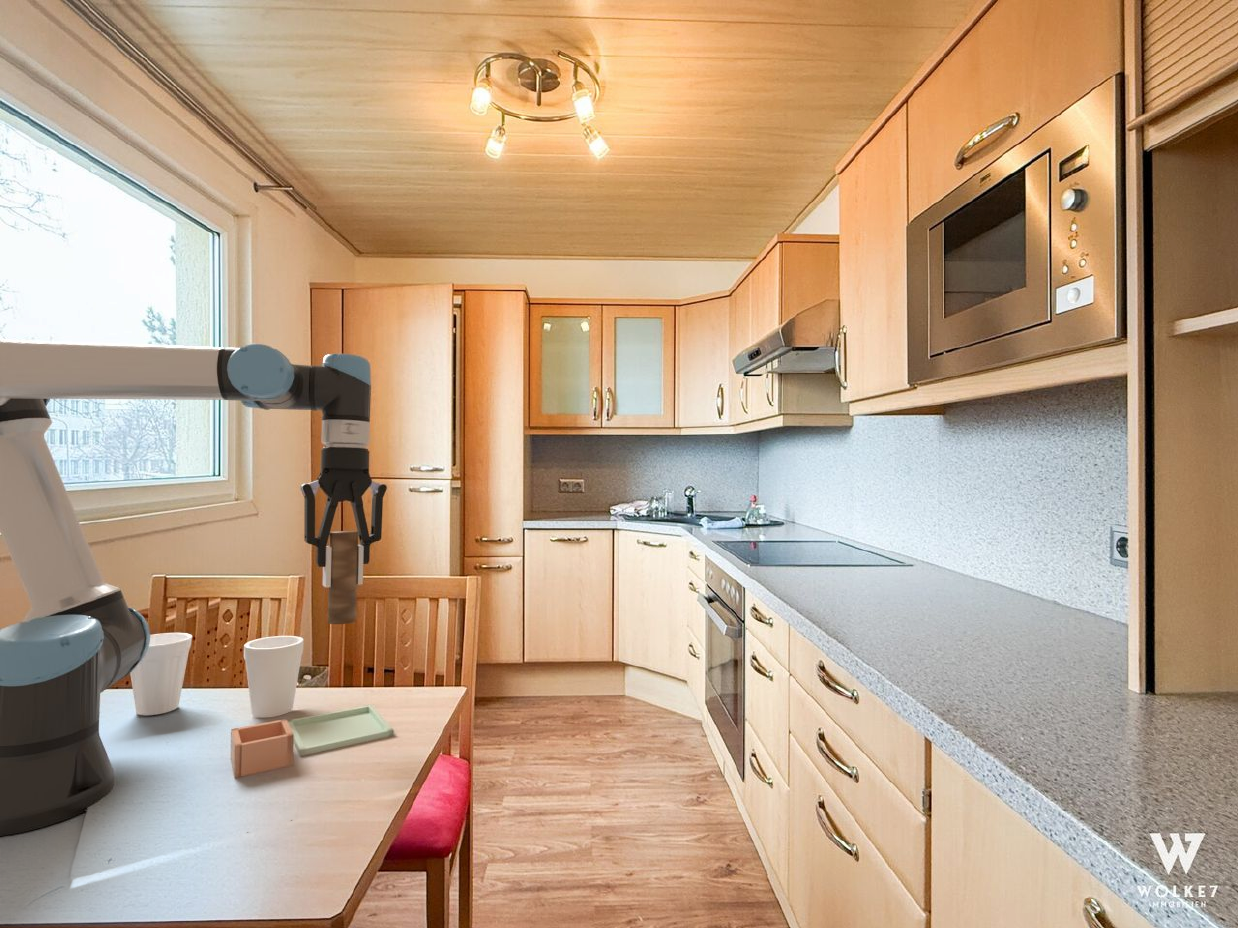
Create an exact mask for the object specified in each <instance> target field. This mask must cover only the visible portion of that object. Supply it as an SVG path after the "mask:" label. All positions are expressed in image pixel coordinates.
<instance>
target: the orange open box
mask: <svg viewBox="0 0 1238 928" xmlns="http://www.w3.org/2000/svg"><path fill="white" fill-rule="evenodd" d="M293 741H294V734H293V732H292V730H291V728H290V726H289V724H288V722H287V718H284V719H280V720H273V721H267V722H263V723H258V724H253V725H252V724H251V725H245V726H241V727H236V728H231V731H230V764H231V768H232V769H231V770H232V772H233V777H234V779H237V778H243V777H248V776H251V775H257V774H260V773H264V772H265V773H266V772H269V771H273V770H277V769H281V768H282V769H283V768H286V767H292V766H294V743H293Z"/></svg>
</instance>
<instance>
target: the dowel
mask: <svg viewBox="0 0 1238 928" xmlns="http://www.w3.org/2000/svg"><path fill="white" fill-rule="evenodd" d="M358 545H359V536H358V531H357V530H356V531H354V530H339V531H330V534H329V545H328V546H329V547H331V548H332V549H331V587H328V593H327V594H328V596H327V602H328V603H327V623H328V624H329V625H344V624H345V625H346V624H352V623H355V622H356V621H357V607H358V606H357V605H358V604H357V603H358V602H357V601H358V599H357V596H358V594H357V593H358V591H357V590H358V585H357V560H358Z"/></svg>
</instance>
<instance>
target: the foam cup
mask: <svg viewBox="0 0 1238 928" xmlns="http://www.w3.org/2000/svg"><path fill="white" fill-rule="evenodd" d="M304 642H305V641H304V638H303V637H301V636H295V635H277V636H276V635H275V636H267V637H261V638H257V639H253V640H250V641H247V642H246V643H245V644H244V645H243V659H244V661H245V670H246V676H247V677H246V678H247V685H248V687H247V688H248V692H249V702H250V711H251V716H252V718H253V719H257V718H260V719H261V718H265V719H266V718H268V719H269V718H274V717H275V718H276V717H279V716H284V715H286V714H288V713H291V712H293V709H294V705H295V697H296V689H297V686H298V685H297V684H298V680H299V679H298V678H299V673H300V668H301V667H300V666H301V660H302V656H303V655H302V654H303V653H304Z"/></svg>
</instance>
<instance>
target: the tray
mask: <svg viewBox="0 0 1238 928" xmlns="http://www.w3.org/2000/svg"><path fill="white" fill-rule="evenodd" d="M287 722H288V724H289V726H290V728H291V730H292V732H293V734H294V741H293V746H294V747H295V749H296V751H297V754H298V756H299V757H303V756H308V755H312V754H317V753H321V752H325V751H330V750H335V749H339V748H344V747H348V746H352V745H358V744H361V743H366V742H371V741H375V740H381V739H384V738H389V737H393V736H394V730H395V729H394V728H392V726H391V725H390V724H389V723H388V721H387V720H386V719H385V718H384V717H383V716H382V715H381V714H380V713H379V711H378V710H377V709H376V708H375V706H374V705H373V704H368V705H362V706H356V707H353V708H346V709H340V710H336V711H331V712H326V713H319V714H314V715H309V716H304V717H299V718H298V717H297V718H291V719H288V720H287Z"/></svg>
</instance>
